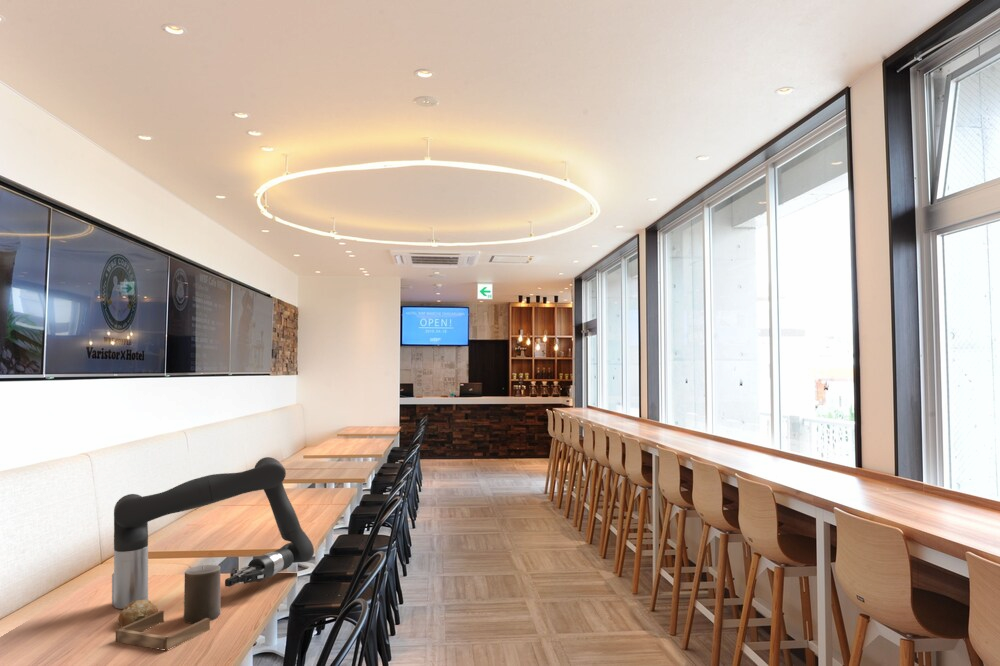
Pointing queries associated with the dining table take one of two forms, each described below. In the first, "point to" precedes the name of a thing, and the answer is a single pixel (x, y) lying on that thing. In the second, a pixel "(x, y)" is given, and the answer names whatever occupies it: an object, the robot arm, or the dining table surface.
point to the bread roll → (136, 612)
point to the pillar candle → (202, 593)
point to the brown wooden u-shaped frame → (136, 637)
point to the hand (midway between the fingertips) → (226, 583)
